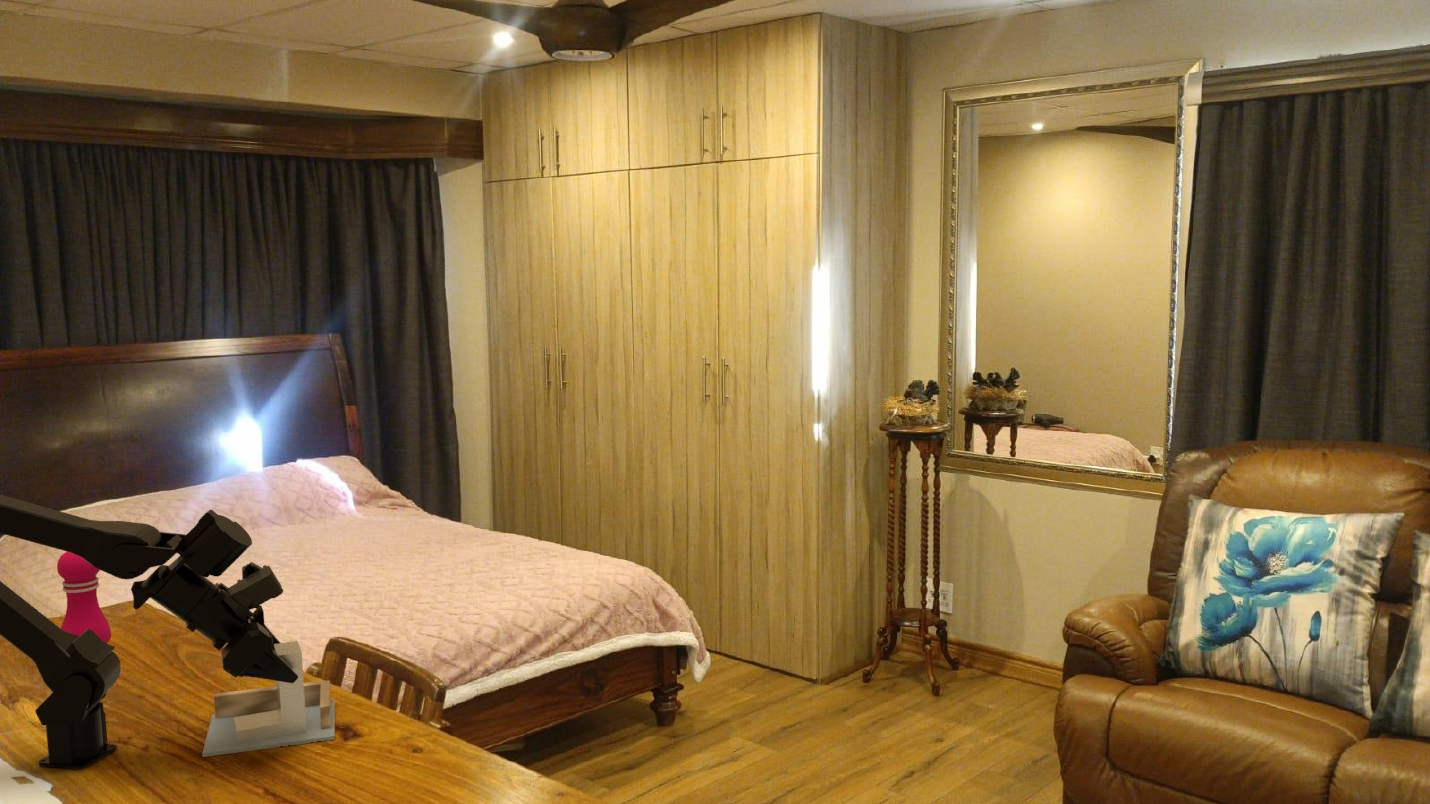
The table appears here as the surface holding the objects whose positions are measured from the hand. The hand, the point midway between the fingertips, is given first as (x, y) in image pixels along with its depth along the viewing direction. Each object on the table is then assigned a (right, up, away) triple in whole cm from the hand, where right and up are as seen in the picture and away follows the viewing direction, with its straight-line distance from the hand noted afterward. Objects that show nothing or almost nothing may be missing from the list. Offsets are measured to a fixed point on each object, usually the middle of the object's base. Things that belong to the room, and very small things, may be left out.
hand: (291, 668), depth 155 cm
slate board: (-3, -8, +2) cm, 9 cm away
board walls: (-4, -8, +3) cm, 10 cm away
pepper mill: (-42, -6, +27) cm, 50 cm away
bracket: (-3, -8, 0) cm, 9 cm away
